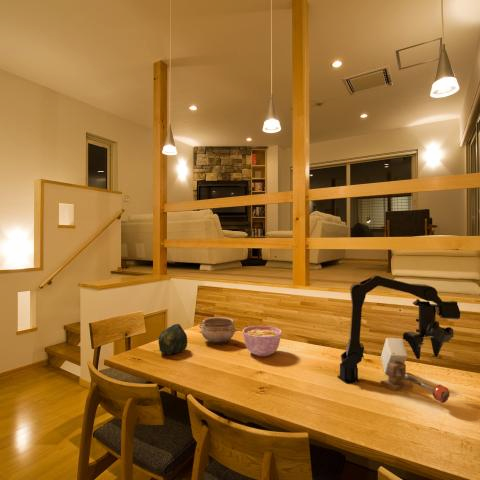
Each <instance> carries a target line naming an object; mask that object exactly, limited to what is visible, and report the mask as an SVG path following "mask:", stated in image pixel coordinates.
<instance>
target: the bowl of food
mask: <svg viewBox="0 0 480 480" xmlns="http://www.w3.org/2000/svg"><path fill="white" fill-rule="evenodd" d="M242 334H243V339H244V344H245V346H246V347H245V348H246V349H247V350H248V352H250V353H251V354H253V355H255V356H256V357H269V356H270V355H272V354H274V353H275V352H276V351H277V350H278V348H279V346H280V341H281V338H282V330H281V329H280V328H278V327H274V326H268V325H252V326H248V327H244V328H243V329H242Z"/></svg>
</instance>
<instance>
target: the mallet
mask: <svg viewBox="0 0 480 480" xmlns="http://www.w3.org/2000/svg"><path fill="white" fill-rule="evenodd" d="M404 377H405V380H406V381H407V380H408V381H410V382H412V383H415V384H417V385H418V386H420V387H422V388H424V389H426V390H428V391H430V392H432V396H433V398H434V399H435V400H436V401H438V402H440V403H446V402H447V401H448V400H449V398H450V390H449V388H448V387H446V386H445V385H442V384H437V385H436V386H433V385H430V384H428V383H426V382H424V381H422V380H420V379H418V378H416V377H414V376H412V375H411V374H410V373H406V374H405V375H404Z"/></svg>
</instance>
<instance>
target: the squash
mask: <svg viewBox="0 0 480 480" xmlns="http://www.w3.org/2000/svg"><path fill="white" fill-rule="evenodd" d="M157 343H158V348H159V351H160V352H161V353H162V354H164V355H172V354H177V353H182V352H184V351H185V350H186V348H187V347H188V335H187V334H186V332H185V330H184V329H183V327H182V326H181V324H180V323H175V324H173V325H171V326H169V327H167V328H166V329H164V330H162V331H161V332H160V334H159V337H158V342H157Z"/></svg>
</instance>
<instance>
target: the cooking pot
mask: <svg viewBox="0 0 480 480" xmlns="http://www.w3.org/2000/svg"><path fill="white" fill-rule="evenodd" d="M234 322H235V321H234V319H233V318H230V317H226V316H212V317H207V318H204V319H203V320H202V323H199V324H198V327H199V329H200V330H201V335H202V337H203V338H204V339H205V340H207V341H208V342H209V343H212V344H213V343H214V345H221V343H222V344H224V343H226V342H227V341H229V340H231V339H232V338H233V337H234V335H235V334H236V332H238V331H239V328H235V325H234Z"/></svg>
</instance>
